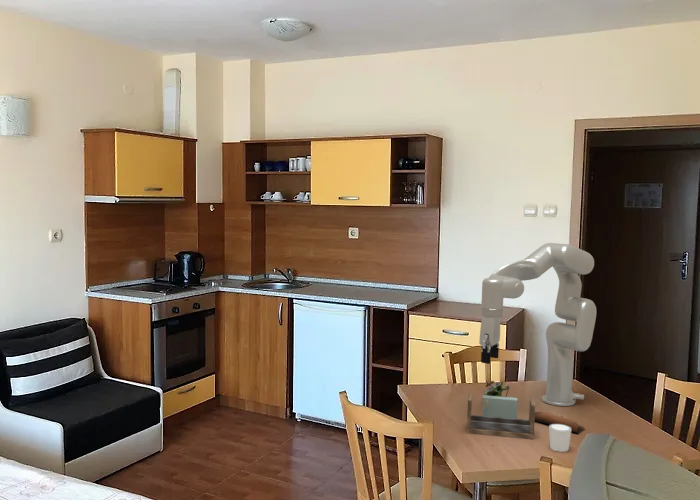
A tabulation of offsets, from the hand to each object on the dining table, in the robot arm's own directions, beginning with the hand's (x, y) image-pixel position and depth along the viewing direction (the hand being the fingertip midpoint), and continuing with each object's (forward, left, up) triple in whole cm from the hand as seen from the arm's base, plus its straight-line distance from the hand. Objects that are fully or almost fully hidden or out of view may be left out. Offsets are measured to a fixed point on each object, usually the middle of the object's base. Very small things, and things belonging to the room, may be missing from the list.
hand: (489, 360), depth 225 cm
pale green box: (-4, 0, -22) cm, 23 cm away
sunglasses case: (-25, -2, -23) cm, 34 cm away
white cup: (-23, +20, -23) cm, 38 cm away
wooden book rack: (-4, +10, -22) cm, 25 cm away
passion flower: (-4, -19, -23) cm, 30 cm away
